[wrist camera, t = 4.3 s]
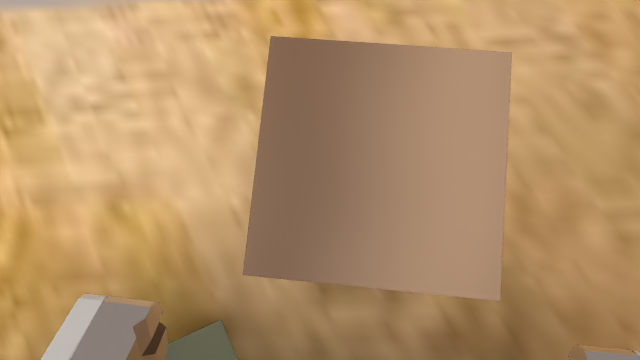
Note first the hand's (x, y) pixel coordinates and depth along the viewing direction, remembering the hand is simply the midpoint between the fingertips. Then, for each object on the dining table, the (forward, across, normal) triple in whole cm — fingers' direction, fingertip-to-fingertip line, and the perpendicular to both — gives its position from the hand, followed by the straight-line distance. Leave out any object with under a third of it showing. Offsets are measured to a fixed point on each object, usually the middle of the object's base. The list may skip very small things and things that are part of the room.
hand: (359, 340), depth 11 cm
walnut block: (+8, 0, +4) cm, 9 cm away
